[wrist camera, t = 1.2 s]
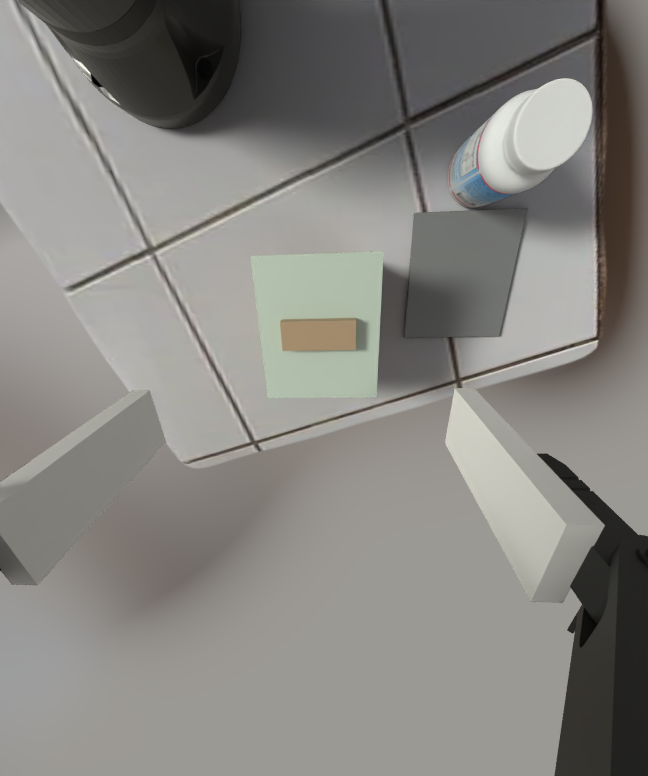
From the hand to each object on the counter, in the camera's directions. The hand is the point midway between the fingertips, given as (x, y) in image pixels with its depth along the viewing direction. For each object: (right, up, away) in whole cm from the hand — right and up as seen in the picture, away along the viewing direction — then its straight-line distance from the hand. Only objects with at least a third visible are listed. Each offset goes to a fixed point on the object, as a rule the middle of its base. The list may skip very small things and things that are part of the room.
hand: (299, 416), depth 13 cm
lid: (+1, +7, +14) cm, 15 cm away
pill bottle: (+16, +22, +16) cm, 32 cm away
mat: (+16, +13, +20) cm, 29 cm away
